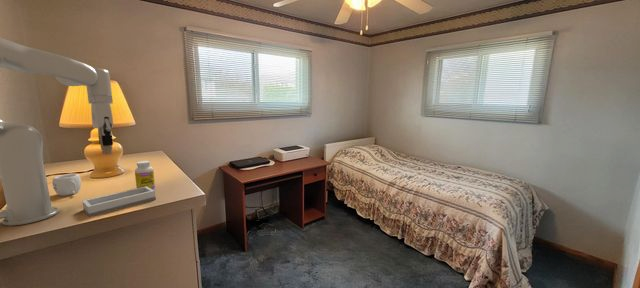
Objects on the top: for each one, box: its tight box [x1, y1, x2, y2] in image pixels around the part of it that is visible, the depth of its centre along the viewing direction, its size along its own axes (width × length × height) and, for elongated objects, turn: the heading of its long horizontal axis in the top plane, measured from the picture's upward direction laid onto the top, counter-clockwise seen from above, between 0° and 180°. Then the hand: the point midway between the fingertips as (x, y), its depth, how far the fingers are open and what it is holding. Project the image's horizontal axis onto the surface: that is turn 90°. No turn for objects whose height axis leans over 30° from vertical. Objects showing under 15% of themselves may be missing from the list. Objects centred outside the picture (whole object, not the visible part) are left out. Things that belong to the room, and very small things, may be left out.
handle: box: [98, 126, 113, 155], centre depth 105 cm, size 5×6×15 cm
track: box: [81, 186, 157, 217], centre depth 96 cm, size 20×10×4 cm, turn 141°
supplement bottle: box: [134, 160, 156, 191], centre depth 110 cm, size 7×7×13 cm
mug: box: [51, 173, 82, 197], centre depth 107 cm, size 12×8×8 cm
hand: (106, 144), depth 106 cm, fingers closed on handle, 4 cm apart
